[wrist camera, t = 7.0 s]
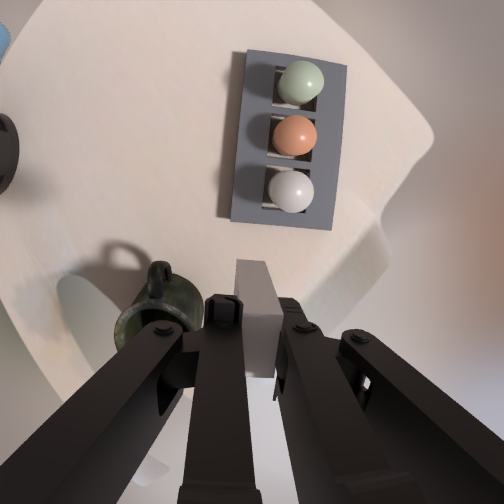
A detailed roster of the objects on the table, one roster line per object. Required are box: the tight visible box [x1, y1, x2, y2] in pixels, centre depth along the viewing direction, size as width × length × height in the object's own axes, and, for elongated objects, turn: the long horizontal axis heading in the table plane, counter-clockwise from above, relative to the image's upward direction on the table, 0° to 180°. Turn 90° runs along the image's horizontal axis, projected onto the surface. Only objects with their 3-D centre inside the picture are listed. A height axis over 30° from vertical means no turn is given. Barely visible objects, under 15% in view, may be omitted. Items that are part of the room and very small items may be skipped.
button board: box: [230, 49, 347, 231], centre depth 42 cm, size 14×24×2 cm, turn 175°
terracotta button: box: [272, 115, 317, 156], centre depth 40 cm, size 5×5×5 cm
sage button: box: [278, 61, 324, 106], centre depth 37 cm, size 5×5×5 cm
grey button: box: [268, 171, 314, 213], centre depth 40 cm, size 5×5×5 cm
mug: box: [114, 261, 204, 351], centre depth 42 cm, size 11×15×12 cm
